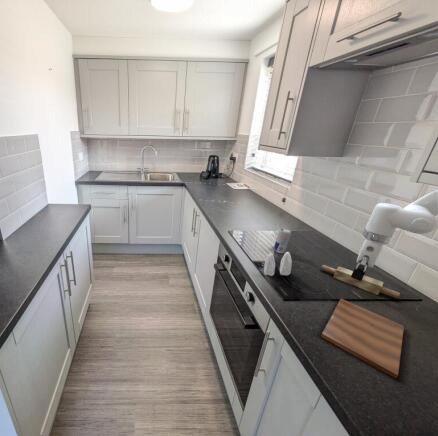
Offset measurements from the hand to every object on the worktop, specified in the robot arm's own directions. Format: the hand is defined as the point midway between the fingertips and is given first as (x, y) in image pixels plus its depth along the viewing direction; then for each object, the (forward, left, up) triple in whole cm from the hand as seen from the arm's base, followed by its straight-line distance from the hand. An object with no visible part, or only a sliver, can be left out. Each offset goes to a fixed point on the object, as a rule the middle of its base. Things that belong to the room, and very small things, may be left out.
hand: (358, 274), depth 92 cm
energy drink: (+22, -22, -5) cm, 31 cm away
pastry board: (+13, +28, -5) cm, 31 cm away
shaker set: (+30, 0, -5) cm, 30 cm away
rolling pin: (0, 0, -5) cm, 5 cm away
